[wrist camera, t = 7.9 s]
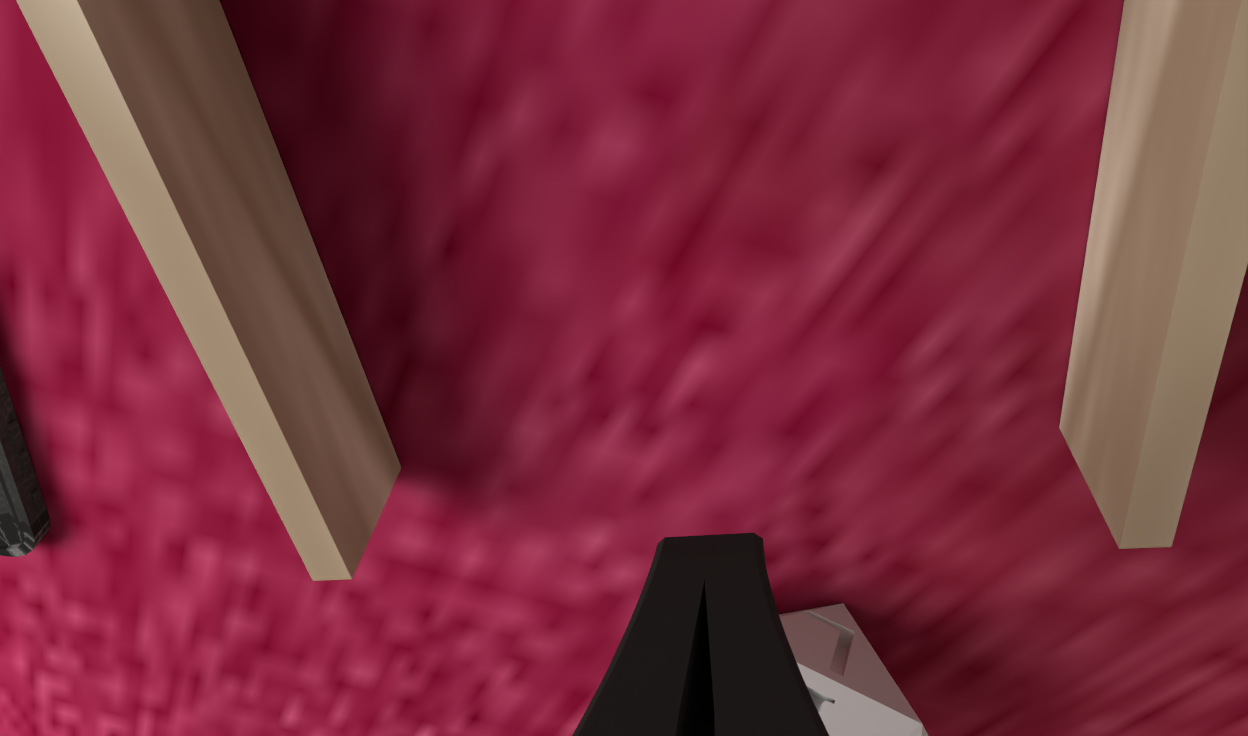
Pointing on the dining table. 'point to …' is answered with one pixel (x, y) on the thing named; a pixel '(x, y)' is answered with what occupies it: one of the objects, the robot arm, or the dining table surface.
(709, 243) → the dining table surface
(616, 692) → the robot arm
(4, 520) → the phone
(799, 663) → the die
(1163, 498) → the wooden frame
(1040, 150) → the dining table surface
